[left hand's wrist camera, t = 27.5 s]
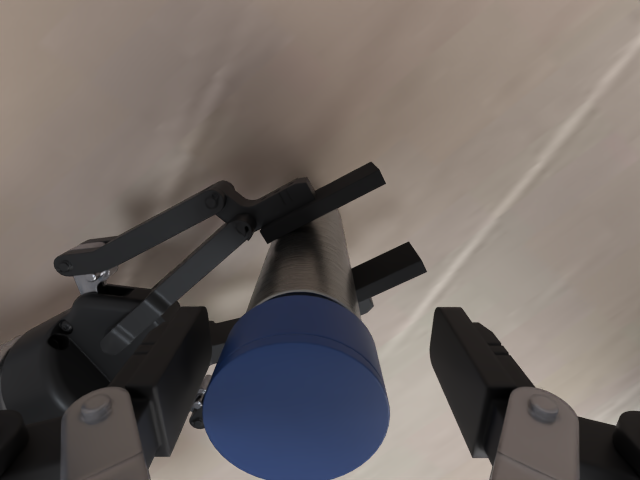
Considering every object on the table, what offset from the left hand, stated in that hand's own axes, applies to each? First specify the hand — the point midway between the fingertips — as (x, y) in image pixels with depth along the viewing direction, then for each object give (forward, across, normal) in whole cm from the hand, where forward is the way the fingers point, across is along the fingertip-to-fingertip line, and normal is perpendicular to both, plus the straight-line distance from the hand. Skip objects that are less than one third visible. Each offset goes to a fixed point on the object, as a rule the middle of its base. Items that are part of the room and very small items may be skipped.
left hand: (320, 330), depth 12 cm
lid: (-2, +1, +1) cm, 3 cm away
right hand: (+8, -4, -2) cm, 9 cm away
